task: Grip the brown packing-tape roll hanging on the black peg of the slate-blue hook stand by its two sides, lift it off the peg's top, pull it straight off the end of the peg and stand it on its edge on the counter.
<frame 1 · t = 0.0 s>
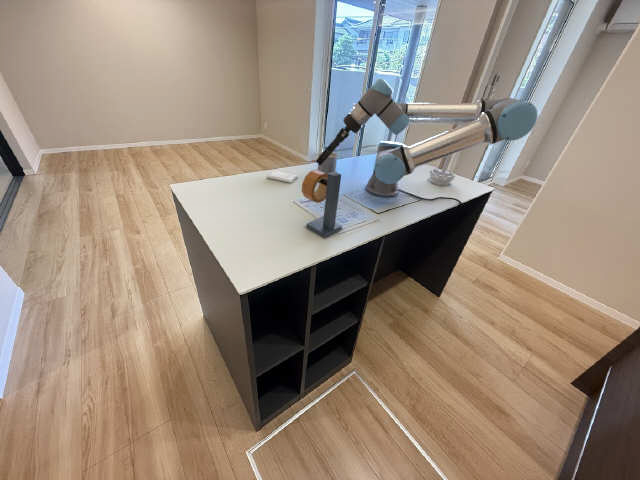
hand: (321, 158, 108), 15 cm above the counter, tool tilted 35°, fingers open, 13 cm apart
flag stand: (439, 182, 141), on the counter
hook stand: (328, 230, 89), on the counter
hard drive: (282, 178, 127), on the counter
coffee mug: (328, 172, 140), on the counter
tape roll: (317, 186, 85), point 14 cm above the counter, touching hook stand
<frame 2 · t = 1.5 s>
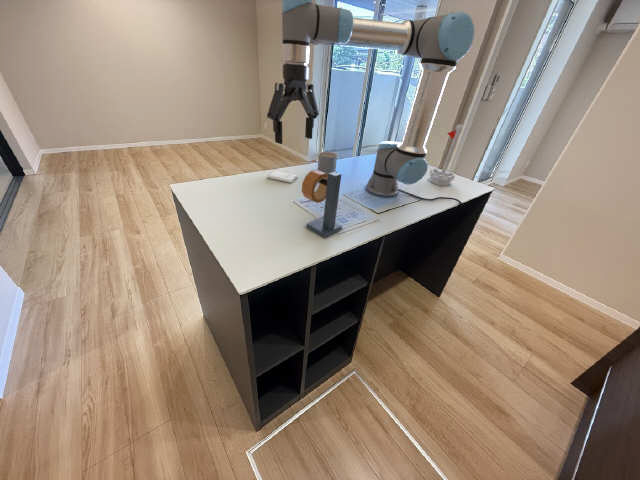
hand: (294, 140, 84), 27 cm above the counter, tool pointing down, fingers open, 13 cm apart
nothing on the counter moved.
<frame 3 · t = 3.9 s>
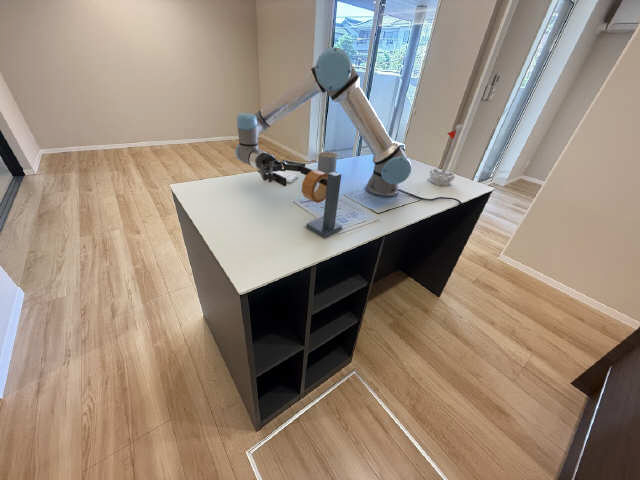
hand: (300, 178, 89), 15 cm above the counter, tool horizontal, fingers open, 13 cm apart
nothing on the counter moved.
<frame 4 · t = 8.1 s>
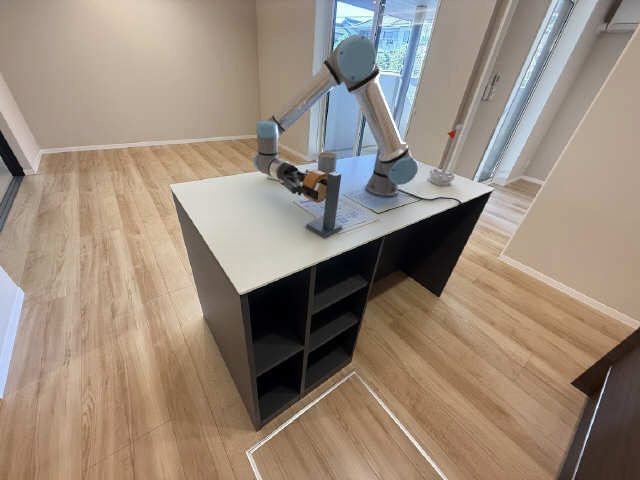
hand: (328, 191, 82), 14 cm above the counter, tool horizontal, fingers closed on tape roll, 10 cm apart
tape roll: (317, 186, 85), point 14 cm above the counter, touching gripper, hook stand
everything else where it was.
when the fingers open (5 cm above the counter, at t = 15.6 s): tape roll stays where it is, point 5 cm above the counter.
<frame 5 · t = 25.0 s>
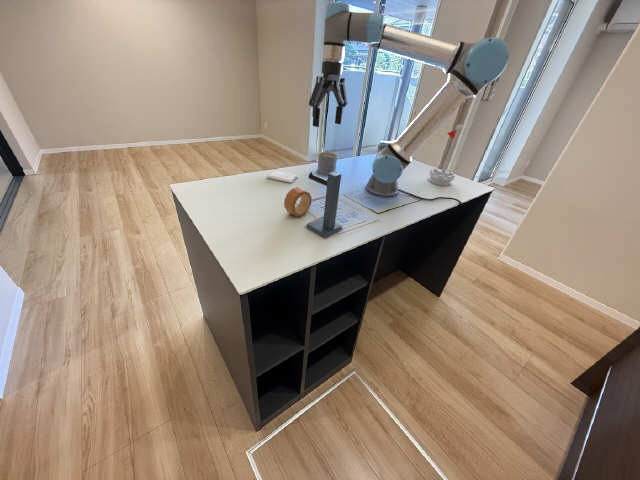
hand: (327, 125, 102), 29 cm above the counter, tool pointing down, fingers open, 13 cm apart
tape roll: (298, 202, 95), point 5 cm above the counter
everything else where it was.
at the end: tape roll point 5.0 cm above the counter; tape roll touching counter; the gripper is holding nothing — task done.
